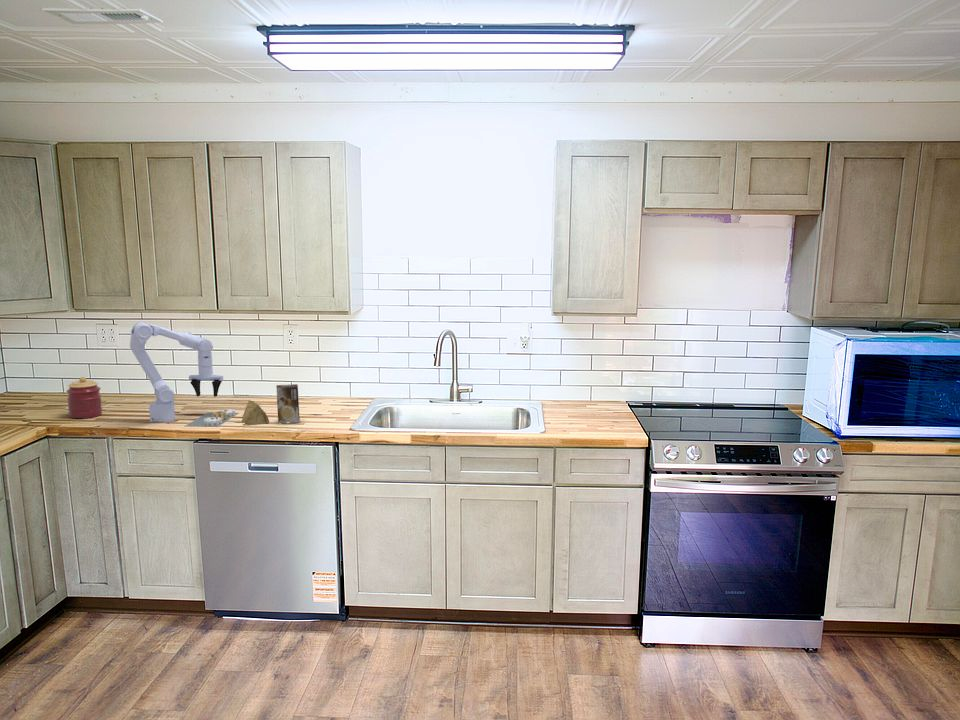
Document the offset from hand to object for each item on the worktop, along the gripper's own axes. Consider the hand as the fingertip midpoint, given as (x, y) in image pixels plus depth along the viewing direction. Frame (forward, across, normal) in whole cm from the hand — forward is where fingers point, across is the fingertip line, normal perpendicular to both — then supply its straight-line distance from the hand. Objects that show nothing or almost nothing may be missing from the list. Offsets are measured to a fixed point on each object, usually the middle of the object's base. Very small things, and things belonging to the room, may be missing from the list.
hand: (207, 396), depth 293 cm
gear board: (+9, -6, +8) cm, 14 cm away
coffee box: (+10, -38, +6) cm, 40 cm away
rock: (+10, -25, +10) cm, 29 cm away
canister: (+10, +54, +2) cm, 55 cm away
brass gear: (+8, -8, +8) cm, 14 cm away
